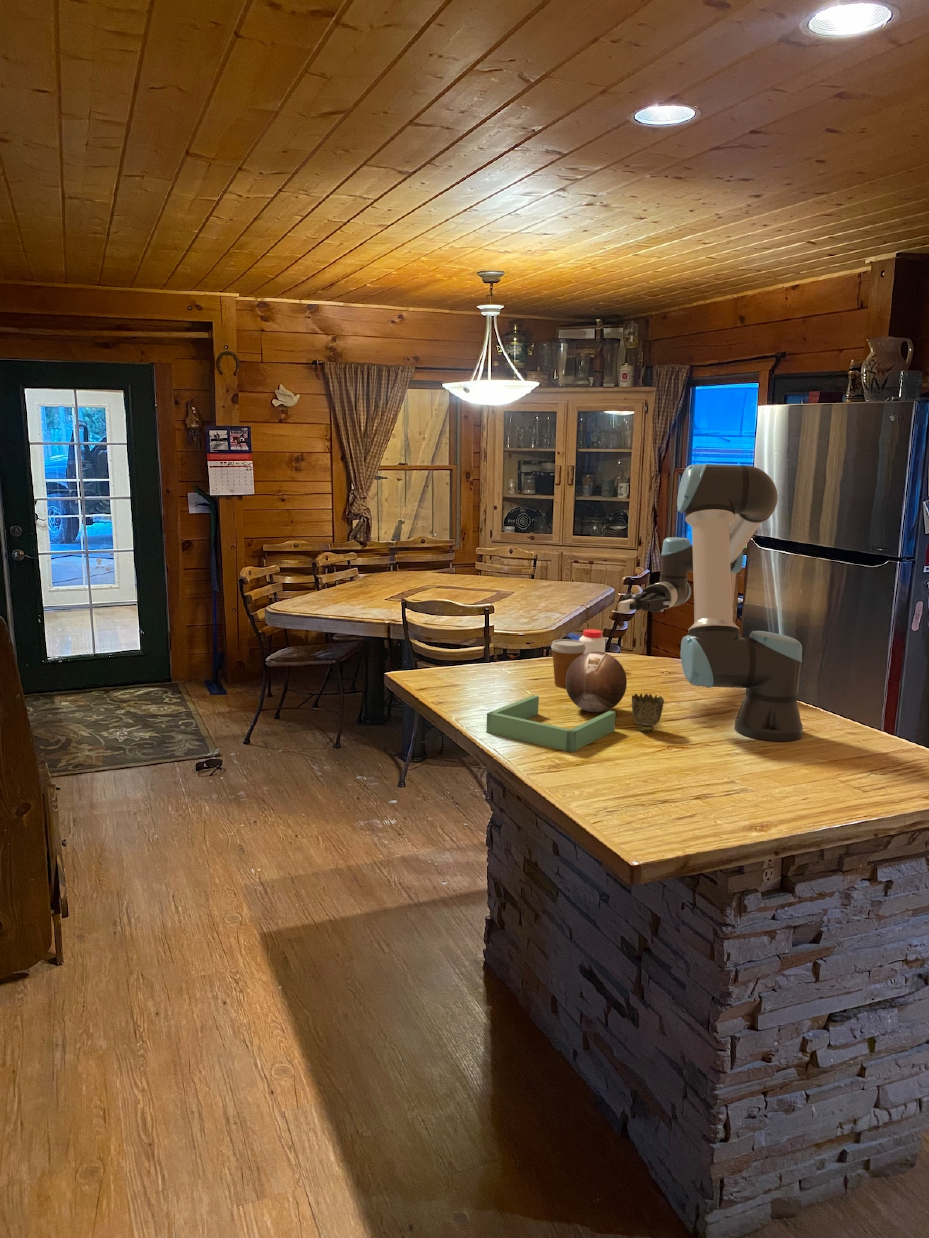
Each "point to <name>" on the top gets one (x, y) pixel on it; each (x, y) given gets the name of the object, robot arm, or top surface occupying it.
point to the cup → (647, 711)
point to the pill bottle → (593, 641)
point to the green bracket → (546, 727)
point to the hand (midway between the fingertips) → (621, 607)
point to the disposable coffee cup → (565, 657)
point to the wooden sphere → (596, 682)
